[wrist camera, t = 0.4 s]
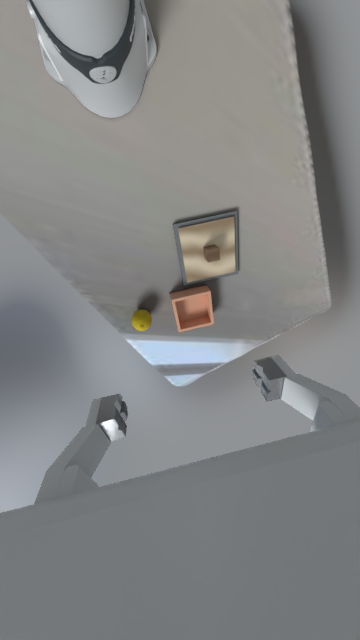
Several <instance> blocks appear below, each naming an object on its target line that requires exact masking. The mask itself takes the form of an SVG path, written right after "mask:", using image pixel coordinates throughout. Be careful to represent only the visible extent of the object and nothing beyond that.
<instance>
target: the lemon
mask: <svg viewBox="0 0 360 640" xmlns="http://www.w3.org/2000/svg"><path fill="white" fill-rule="evenodd" d="M151 321H152V320H151V315H150V314H149V312H148V311H146V310H143V309H141V310H137V311H136V312H135V313H134V314H133V316H132V324H133V326H134V328H135V329H137V330H139V331H144V330H146V329H148V328H149V327H150V325H151Z"/></svg>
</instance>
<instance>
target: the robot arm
mask: <svg viewBox="0 0 360 640" xmlns="http://www.w3.org/2000/svg"><path fill="white" fill-rule="evenodd" d="M27 6H28V9H29V12H30V15H31V17H32V19H34V21H35V25H36V30H37V34H38V39H39V43H40V48H41V52H42V57H43V61H44V65H45V68H46V70H47V72H48V73H49V75H50V76H51V77H52V78H53V79H55V80H56V81H57V82H59V83H61V84H62V85H64V86H66V87H67V88H68V89H69V90H70V91H71V92H72V93H73V94H74V95H75V97H76V98H77V99H78V100H79V101H80V102H81V103H82V104H83V105H84V106H85V107H86V108H87V109H89V110H90V111H92V112H93V113H95V114H97V115H100V116H103V117H107V118H115V117H120V116H122V115H124V114H126V113H128V112H129V111H130V110H131V109H132V108H133V107H134V106H135V104H136V103H137V101H138V99H139V97H140V95H141V92H142V89H143V85H144V81H145V77H146V74H147V72H148V70H149V69H150V67H151V66H152V65H153V63H154V61H155V59H156V56H157V48H156V43H155V39H154V35H153V32H152V28H151V25H150V21H149V18H148V14H147V10H146V7H145V3H144V0H27ZM147 37H148V38H149V41H148V42H147ZM253 367H254V369H253V371H252V375H253V379H254V381H255V383H256V385H257V386H258V387H260V388H261V393H262V395H263V396H264V398H265V399H266V401H272V400H276V399H280V398H281V399H282V400H283V401H285V402H286V403H287V404H289V405H290V406H292V407H294V408H295V409H296V410H298V411H299V412H301V413H302V414H304V415H305V416H307V417H308V418H310V419H311V420H313V422H312V426H311V428H310V432H308V433H304V434H301V435H296V436H293V437H289V438H285V439H281V440H277V441H274V442H270V443H266V444H263V445H259V446H255V447H251V448H247V449H243V450H239V451H235V452H231V453H228V454H224V455H220V456H216V457H212V458H209V459H205V460H201V461H197V462H193V463H189V464H186V465H182V466H178V467H174V468H170V469H167V470H163V471H159V472H155V473H151V474H147V475H144V476H140V477H136V478H132V479H129V480H125V481H121V482H117V483H113V484H109V485H106V486H102V487H99V486H98V485H97V484H96V483H95V482H94V481H93V480H92V479H91V477H92V475H93V474H94V471H95V470H96V468H97V466H98V464H99V463H100V461H101V459H102V458H103V456H104V454H105V452H106V450H107V449H108V447H109V445H110V443H111V441H114V440H118V439H121V438H125V437H126V428H127V425H126V423H125V421H126V419H127V416H128V411H127V406H126V403H125V402H124V401H122V396H121V394H116V395H112V396H107V397H102V398H99V399H94V400H93V402H92V405H91V408H90V412H89V415H88V419H87V422H86V426H85V427H83V428H82V429H81V430H80V431H79V433H78V434H77V435H76V436H75V437H74V439H73V440H72V441H71V442H70V443H69V445H68V446H67V447H66V448H65V450H64V451H63V452H62V453H61V455H60V456H59V457H58V458H57V459H56V460H55V462H54V463H53V464H52V465H51V466H50V468H49V469H48V470H47V471H46V474H45V477H44V479H43V482H42V485H41V487H40V490H39V493H38V495H37V498H36V501H35V503H34V504H33V505H29V506H26V507H22V508H18V509H14V510H10V511H7V512H2V513H0V640H360V408H359V407H358V406H357V405H356V404H355V403H354V402H353V401H352V400H351V399H350V398H349V397H348V396H347V395H345V394H343V393H341V392H339V391H336V390H334V389H331V388H330V387H327V386H325V385H323V384H321V383H318V382H316V381H313V380H311V379H309V378H307V377H304V376H302V375H300V374H295V372H294V371H293V370H292V369H291V368H290V367H289V366H288V365H287V364H286V362H285V361H284V360H283V359H282V358H281V357H280V356H279V355H276V356H271V357H267V358H263V359H259V360H255V361H253Z"/></svg>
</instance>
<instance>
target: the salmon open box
mask: <svg viewBox="0 0 360 640" xmlns="http://www.w3.org/2000/svg"><path fill="white" fill-rule="evenodd" d="M170 297H171V302H172V306H173V311H174V315H175V320H176V324H177V328H178V332H182V331H187V330H191V329H195V328H199V327H204V326H208V325H212V324H214V319H213V309H212V299H211V291H210V289H209V288H208V287H207V285H202V286H197V287H193V288H188V289H184V290H180V291H175V292H171V293H170Z"/></svg>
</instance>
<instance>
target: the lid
mask: <svg viewBox="0 0 360 640" xmlns="http://www.w3.org/2000/svg"><path fill="white" fill-rule="evenodd" d="M178 230H179V236H180V242H181V248H182V254H183V261H184V267H185V273H186V279H187V283H188V282H192V281H197V280H201V279H205V278H210V277H214V276H219V275H223V274H227V273H232V272H236V270H235V227H234V216H233V217H228V218H223V219H219V220H214V221H209V222H205V223H200V224H196V225H191V226H186V227H182V228H178Z"/></svg>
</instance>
